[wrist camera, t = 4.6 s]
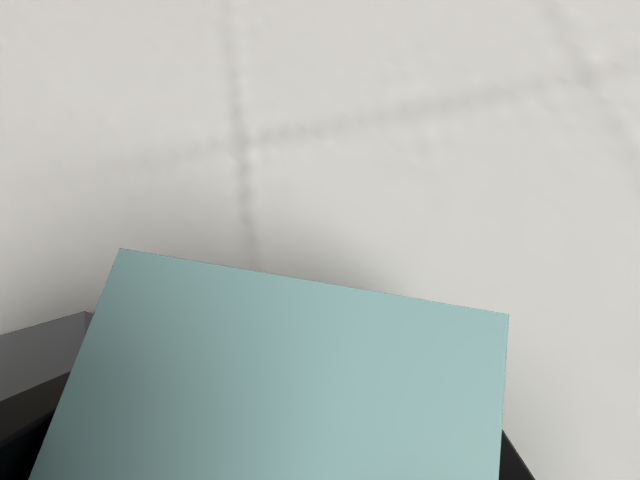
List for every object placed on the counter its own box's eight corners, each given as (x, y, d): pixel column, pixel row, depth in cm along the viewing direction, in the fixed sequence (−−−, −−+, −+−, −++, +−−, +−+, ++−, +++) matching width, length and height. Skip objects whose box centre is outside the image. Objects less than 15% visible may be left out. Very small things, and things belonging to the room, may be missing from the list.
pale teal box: (414, 588, 12) (465, 998, 4) (219, 526, 13) (-69, 723, 5) (439, 370, 14) (509, 313, 6) (267, 335, 15) (119, 248, 7)
